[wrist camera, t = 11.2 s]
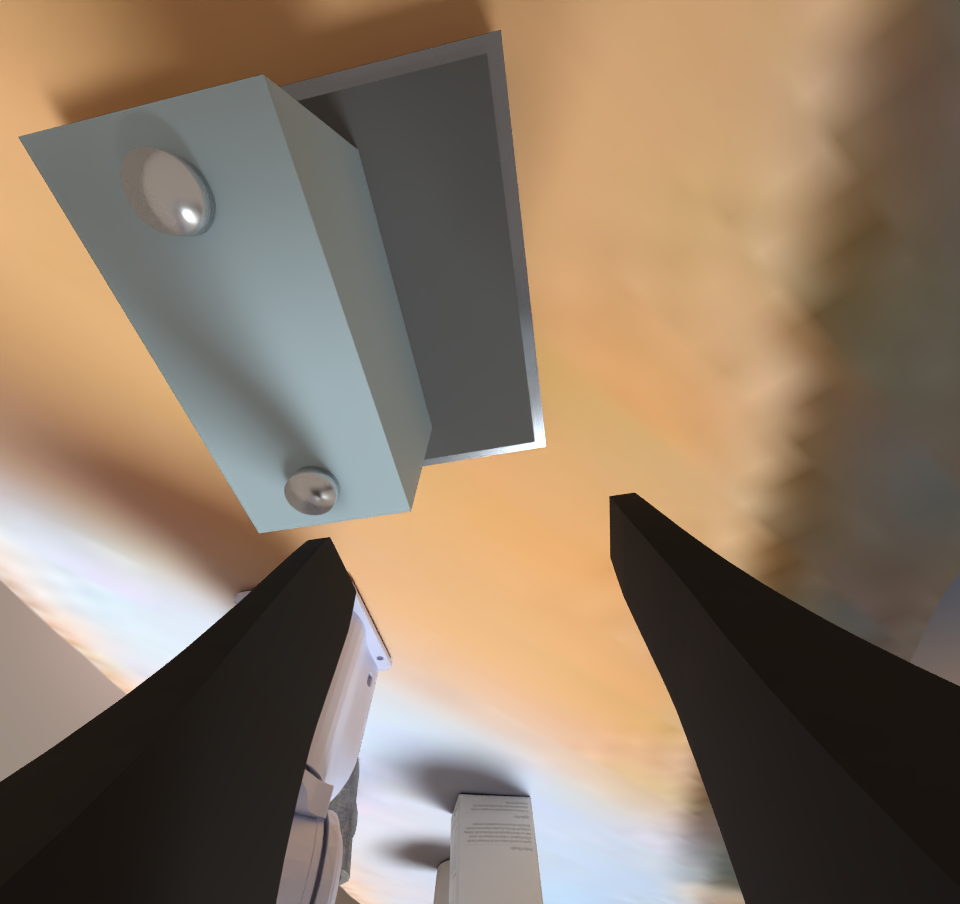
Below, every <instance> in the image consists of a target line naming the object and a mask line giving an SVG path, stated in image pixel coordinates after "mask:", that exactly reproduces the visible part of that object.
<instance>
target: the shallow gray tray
mask: <svg viewBox="0 0 960 904" xmlns="http://www.w3.org/2000/svg"><path fill="white" fill-rule="evenodd" d="M280 88H281V89H283V90H284V91H285V92H286V93H288V94H289V95H290V96H291V97H293V98H294V99H295V100H296V101H298V102H299V103H300V104H301V105H303V106H304V107H305V108H306V109H308V110H309V111H310V112H311V113H313V114H314V115H315V116H316V117H318V118H319V119H320V120H321V121H323V122H324V123H325V124H326V125H328V126H329V127H330V128H331V129H333V130H334V131H335V132H336V133H338V134H339V135H340V136H341V137H343V138H344V139H345V140H346V141H348V142H349V143H350V144H351V145H353V146H354V147H355V148H356V149H358V151H359V155H360V159H361V162H362V166H363V170H364V174H365V177H366V181H367V185H368V189H369V192H370V196H371V200H372V204H373V207H374V211H375V215H376V219H377V222H378V226H379V230H380V234H381V237H382V241H383V245H384V249H385V252H386V256H387V260H388V264H389V268H390V271H391V275H392V279H393V283H394V286H395V290H396V294H397V298H398V301H399V305H400V309H401V313H402V316H403V320H404V324H405V328H406V331H407V335H408V339H409V343H410V346H411V350H412V354H413V358H414V361H415V365H416V369H417V373H418V376H419V380H420V384H421V388H422V391H423V395H424V399H425V403H426V407H427V410H428V414H429V418H430V422H431V425H432V431H431V435H430V439H429V442H428V446H427V450H426V454H425V458H424V462H423V466H427V465H433V464H440V463H446V462H452V461H459V460H465V459H471V458H477V457H484V456H490V455H496V454H503V453H509V452H515V451H521V450H528V449H534V448H540V447H546V442H545V433H544V424H543V414H542V405H541V396H540V387H539V378H538V368H537V359H536V350H535V341H534V332H533V322H532V313H531V304H530V295H529V286H528V276H527V267H526V258H525V249H524V240H523V230H522V221H521V212H520V203H519V193H518V184H517V175H516V166H515V157H514V147H513V138H512V129H511V120H510V111H509V101H508V92H507V83H506V74H505V65H504V55H503V46H502V37H501V30H499V31H495V32H491V33H487V34H483V35H480V36H476V37H472V38H468V39H464V40H460V41H456V42H452V43H448V44H444V45H440V46H437V47H433V48H429V49H425V50H421V51H417V52H413V53H409V54H405V55H401V56H398V57H394V58H390V59H386V60H382V61H378V62H374V63H370V64H366V65H362V66H359V67H355V68H351V69H347V70H343V71H339V72H335V73H331V74H327V75H323V76H320V77H316V78H312V79H308V80H304V81H300V82H296V83H292V84H288V85H284V86H281V87H280Z"/></svg>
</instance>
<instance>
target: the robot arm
mask: <svg viewBox="0 0 960 904" xmlns="http://www.w3.org/2000/svg"><path fill="white" fill-rule="evenodd" d="M610 557H611V560H612V564H613V567H614V570H615V573H616V576H617V579H618V582H619V584H620V587H621V590H622V593H623V596H624V598H625V600H626V602H627V605H628V607H629V609H630V611H631V613H632V615H633V618H634V620H635V622H636V624H637V626H638V628H639V630H640V632H641V635H642V637H643V639H644V641H645V643H646V645H647V647H648V649H649V651H650V654H651V656H652V658H653V660H654V662H655V664H656V666H657V668H658V670H659V673H660V675H661V677H662V679H663V681H664V683H665V685H666V687H667V690H668V692H669V694H670V697H671V699H672V701H673V704H674V706H675V708H676V711H677V713H678V716H679V718H680V721H681V724H682V726H683V729H684V732H685V734H686V737H687V740H688V742H689V745H690V748H691V750H692V753H693V756H694V758H695V761H696V764H697V767H698V769H699V772H700V775H701V778H702V780H703V783H704V786H705V789H706V792H707V794H708V797H709V800H710V803H711V805H712V808H713V811H714V814H715V817H716V819H717V822H718V825H719V828H720V831H721V834H722V836H723V839H724V842H725V845H726V848H727V851H728V854H729V857H730V860H731V863H732V866H733V868H734V871H735V874H736V877H737V880H738V883H739V886H740V889H741V892H742V895H743V897H744V900H745V903H746V904H960V686H958V685H956V684H954V683H952V682H949V681H947V680H945V679H943V678H941V677H939V676H937V675H935V674H932V673H930V672H928V671H926V670H924V669H922V668H920V667H917V666H915V665H913V664H911V663H909V662H907V661H905V660H903V659H901V658H899V657H897V656H895V655H893V654H891V653H889V652H887V651H885V650H883V649H881V648H879V647H877V646H875V645H873V644H871V643H869V642H867V641H865V640H863V639H861V638H859V637H857V636H855V635H853V634H852V633H850V632H848V631H846V630H844V629H842V628H840V627H838V626H836V625H835V624H833V623H831V622H829V621H827V620H825V619H823V618H822V617H820V616H818V615H816V614H815V613H813V612H811V611H809V610H807V609H806V608H804V607H802V606H800V605H799V604H797V603H795V602H793V601H792V600H790V599H788V598H786V597H785V596H783V595H781V594H779V593H778V592H776V591H774V590H773V589H771V588H769V587H768V586H766V585H764V584H763V583H761V582H760V581H758V580H756V579H755V578H753V577H752V576H750V575H749V574H747V573H746V572H744V571H742V570H741V569H739V568H738V567H736V566H735V565H733V564H732V563H730V562H728V561H727V560H725V559H724V558H723V557H721V556H720V555H718V554H717V553H715V552H714V551H712V550H711V549H710V548H708V547H707V546H705V545H704V544H703V543H701V542H700V541H698V540H697V539H696V538H694V537H693V536H691V535H690V534H689V533H687V532H686V531H685V530H683V529H682V528H681V527H679V526H678V525H677V524H675V523H674V522H673V521H671V520H670V519H669V518H667V517H666V516H665V515H663V514H662V513H661V512H660V511H658V510H657V509H656V508H654V507H653V506H652V505H651V504H649V503H648V502H647V501H645V500H644V499H643V498H641V497H640V496H639V495H637V494H636V493H629V494H622V495H616V496H610ZM234 601H235V603H236V604H237V605H235V606H234V607H233V608H232V609H231V610H230V611H229V612H227V613H226V614H225V615H224V616H223V617H222V618H221V619H219V620H218V621H217V622H216V623H215V624H214V625H212V626H211V627H210V628H209V629H208V630H207V631H206V632H204V633H203V634H202V635H201V636H200V637H199V638H197V639H196V640H195V641H194V642H193V643H192V644H190V645H189V646H188V647H187V648H186V649H185V650H183V651H182V652H181V653H180V654H178V655H177V656H176V657H175V658H174V659H172V660H171V661H170V662H169V663H167V664H166V665H165V666H164V667H162V668H161V669H160V670H158V671H157V672H156V673H155V674H153V675H152V676H151V677H149V678H148V679H147V680H145V681H144V682H143V683H142V684H140V685H139V686H138V687H136V688H135V689H134V690H132V691H131V692H130V693H128V694H127V695H126V696H124V697H123V698H122V699H120V700H119V701H118V702H116V703H115V704H114V705H112V706H111V707H110V708H108V709H107V710H105V711H104V712H102V713H101V714H99V715H98V716H96V717H95V718H94V719H92V720H91V721H89V722H88V723H87V724H85V725H84V726H82V727H81V728H79V729H78V730H77V731H75V732H74V733H72V734H71V735H70V736H68V737H67V738H65V739H64V740H63V741H61V742H60V743H58V744H57V745H55V746H54V747H53V748H51V749H49V750H48V751H47V752H45V753H44V754H42V755H41V756H39V757H38V758H36V759H35V760H33V761H31V762H30V763H28V764H27V765H26V766H24V767H22V768H21V769H19V770H18V771H16V772H15V773H13V774H12V775H10V776H9V777H7V778H6V779H4V780H3V781H1V782H0V904H334V903H335V899H336V894H337V889H338V885H339V879H340V873H341V866H342V856H343V841H342V834H341V831H340V824H339V819H338V816H337V814H336V813H335V812H334V811H333V810H328V808H329V804H330V802H331V801H332V800H333V799H334V798H335V797H336V796H337V794H338V793H339V792H340V791H341V789H342V788H343V786H344V785H345V784H346V782H347V781H348V779H349V777H350V775H351V773H352V771H353V769H354V767H355V765H356V762H357V759H358V755H359V752H360V747H361V743H362V739H363V735H364V730H365V726H366V722H367V718H368V713H369V709H370V705H371V701H372V697H373V692H374V688H375V684H376V680H377V675H378V671H381V670H388V669H390V668H391V665H392V661H391V659H390V657H389V655H388V653H387V651H386V648H385V646H384V644H383V642H382V640H381V638H380V636H379V634H378V632H377V630H376V628H375V626H374V624H373V622H372V620H371V618H370V616H369V614H368V612H367V610H366V608H365V606H364V604H363V602H362V600H361V598H360V596H359V594H358V592H357V590H356V588H355V586H354V583H353V582H352V581H351V579H350V577H349V575H348V573H347V571H346V569H345V567H344V564H343V562H342V560H341V558H340V556H339V554H338V552H337V550H336V548H335V546H334V544H333V542H332V540H331V538H330V537H327V538H321V539H314V540H308V541H307V542H305V543H304V544H303V545H302V546H300V547H299V548H298V549H297V550H296V551H295V552H293V553H292V554H291V555H290V556H289V557H288V558H287V559H286V560H284V561H283V562H282V563H281V564H280V565H279V566H278V567H277V568H276V569H275V570H274V571H272V572H271V573H270V574H269V575H268V576H267V577H266V578H265V579H264V580H263V581H262V582H261V583H259V584H258V585H257V586H256V587H255V588H254V589H253V590H252V591H245V592H240V593H238V594H237V595H236V597H235V598H234Z"/></svg>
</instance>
